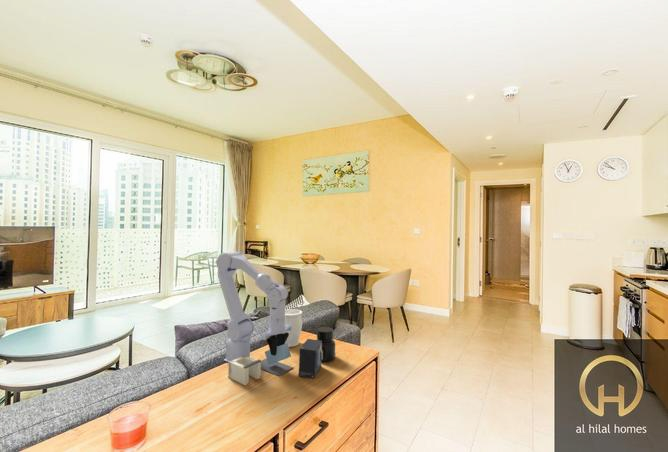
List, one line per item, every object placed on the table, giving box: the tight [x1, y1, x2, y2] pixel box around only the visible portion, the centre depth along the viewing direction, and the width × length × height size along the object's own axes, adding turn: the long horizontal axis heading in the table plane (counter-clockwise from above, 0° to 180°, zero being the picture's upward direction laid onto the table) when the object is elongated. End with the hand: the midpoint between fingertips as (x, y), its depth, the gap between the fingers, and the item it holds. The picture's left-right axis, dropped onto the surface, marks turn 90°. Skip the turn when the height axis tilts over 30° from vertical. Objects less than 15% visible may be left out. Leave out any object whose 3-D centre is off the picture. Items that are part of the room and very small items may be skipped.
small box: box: [298, 338, 322, 379], centre depth 120 cm, size 11×6×10 cm, turn 168°
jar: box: [285, 308, 303, 348], centre depth 147 cm, size 11×10×15 cm
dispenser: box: [227, 356, 262, 386], centre depth 114 cm, size 9×7×6 cm
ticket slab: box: [264, 343, 292, 365], centre depth 121 cm, size 10×3×5 cm, turn 55°
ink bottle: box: [316, 326, 336, 363], centre depth 132 cm, size 10×9×12 cm
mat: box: [261, 357, 294, 377], centre depth 123 cm, size 14×8×1 cm, turn 56°
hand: (276, 353), depth 122 cm, fingers closed on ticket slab, 3 cm apart
